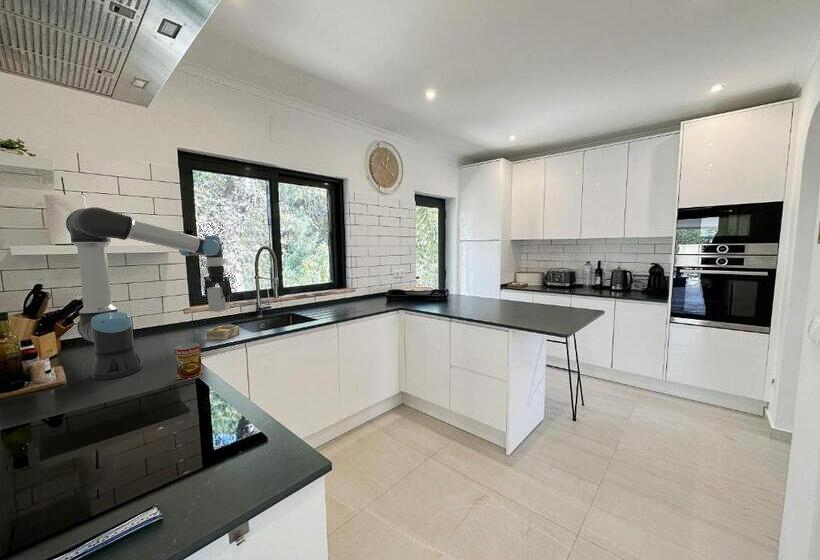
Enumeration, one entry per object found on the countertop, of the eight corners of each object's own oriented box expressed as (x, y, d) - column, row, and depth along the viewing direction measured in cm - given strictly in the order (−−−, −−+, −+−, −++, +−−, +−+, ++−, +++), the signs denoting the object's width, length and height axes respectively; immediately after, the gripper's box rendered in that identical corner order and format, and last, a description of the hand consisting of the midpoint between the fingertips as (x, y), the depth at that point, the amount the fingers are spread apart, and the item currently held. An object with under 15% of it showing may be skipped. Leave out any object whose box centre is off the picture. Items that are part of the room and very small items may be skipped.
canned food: (178, 382, 125) (174, 350, 123) (178, 375, 131) (175, 345, 130) (203, 377, 129) (200, 346, 128) (202, 370, 136) (199, 341, 134)
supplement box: (221, 312, 178) (219, 288, 176) (208, 311, 179) (206, 288, 177) (230, 308, 185) (228, 285, 183) (218, 308, 186) (216, 285, 184)
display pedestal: (224, 340, 177) (224, 331, 177) (206, 339, 180) (206, 330, 179) (239, 334, 188) (238, 326, 188) (222, 333, 190) (221, 325, 190)
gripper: (237, 264, 180) (241, 307, 183) (204, 264, 184) (208, 306, 187) (227, 265, 173) (231, 310, 176) (193, 266, 177) (197, 309, 180)
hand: (219, 308), depth 182 cm, fingers closed on supplement box, 7 cm apart
